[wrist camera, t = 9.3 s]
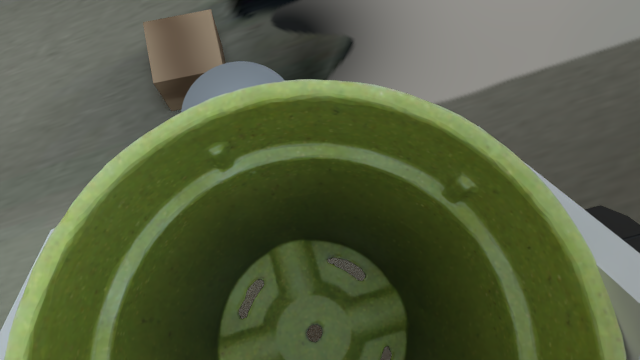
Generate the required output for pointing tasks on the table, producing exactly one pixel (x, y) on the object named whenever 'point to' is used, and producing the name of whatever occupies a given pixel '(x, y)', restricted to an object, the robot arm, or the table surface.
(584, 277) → the plant pot
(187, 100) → the slate jar
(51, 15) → the table surface
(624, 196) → the table surface
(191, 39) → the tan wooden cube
